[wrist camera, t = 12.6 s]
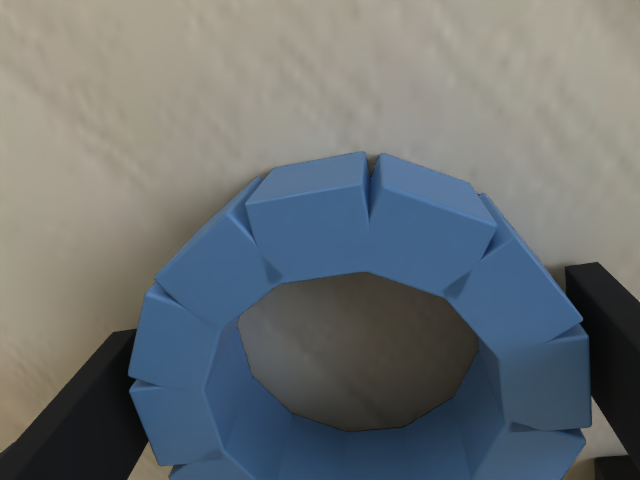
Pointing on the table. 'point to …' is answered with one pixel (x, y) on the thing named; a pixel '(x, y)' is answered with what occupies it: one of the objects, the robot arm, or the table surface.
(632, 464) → the tape holder
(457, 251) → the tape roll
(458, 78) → the table surface
